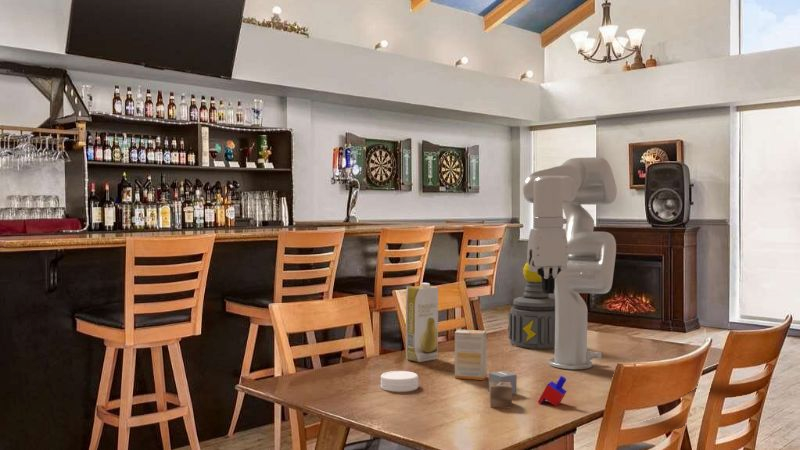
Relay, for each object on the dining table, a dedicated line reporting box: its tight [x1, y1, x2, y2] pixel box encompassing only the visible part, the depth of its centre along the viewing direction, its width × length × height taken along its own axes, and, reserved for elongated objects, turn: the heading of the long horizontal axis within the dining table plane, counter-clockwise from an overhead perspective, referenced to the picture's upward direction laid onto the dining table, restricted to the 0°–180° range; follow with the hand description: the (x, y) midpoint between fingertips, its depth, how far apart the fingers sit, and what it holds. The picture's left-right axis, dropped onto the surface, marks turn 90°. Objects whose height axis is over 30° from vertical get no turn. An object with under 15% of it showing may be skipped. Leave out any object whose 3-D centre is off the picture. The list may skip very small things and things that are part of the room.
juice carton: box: [405, 282, 439, 363], centre depth 218 cm, size 9×8×24 cm
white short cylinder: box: [380, 370, 419, 393], centre depth 184 cm, size 10×10×4 cm
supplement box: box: [454, 329, 488, 381], centre depth 195 cm, size 8×5×13 cm, turn 71°
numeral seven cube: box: [488, 382, 513, 409], centre depth 168 cm, size 5×5×5 cm
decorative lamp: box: [507, 262, 555, 350], centre depth 244 cm, size 19×19×30 cm
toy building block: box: [537, 376, 567, 407], centre depth 169 cm, size 4×4×8 cm
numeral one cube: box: [488, 370, 518, 395], centre depth 179 cm, size 5×5×5 cm
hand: (548, 292), depth 185 cm, fingers closed
